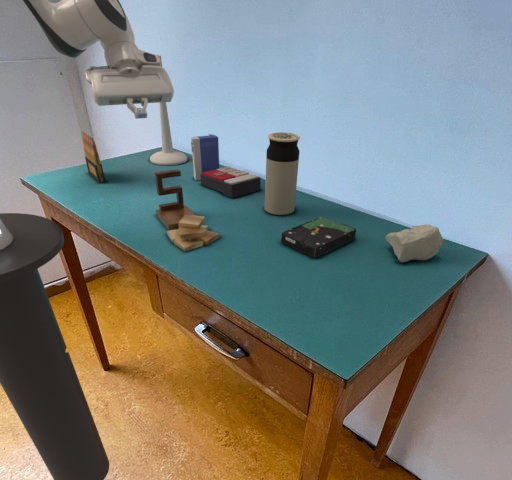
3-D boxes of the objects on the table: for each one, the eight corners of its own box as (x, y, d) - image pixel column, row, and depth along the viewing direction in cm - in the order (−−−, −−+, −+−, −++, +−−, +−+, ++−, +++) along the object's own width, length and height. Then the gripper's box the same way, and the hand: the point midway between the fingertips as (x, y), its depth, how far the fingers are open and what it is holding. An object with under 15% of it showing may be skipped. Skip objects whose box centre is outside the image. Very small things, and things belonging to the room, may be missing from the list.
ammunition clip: (88, 173, 125) (78, 131, 117) (94, 172, 125) (84, 130, 118) (99, 183, 118) (89, 139, 110) (105, 182, 119) (96, 138, 111)
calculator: (228, 165, 123) (261, 174, 114) (228, 179, 125) (261, 189, 116) (199, 171, 117) (231, 182, 108) (200, 186, 119) (232, 198, 111)
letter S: (168, 230, 94) (163, 185, 87) (156, 215, 101) (150, 172, 94) (200, 225, 97) (197, 181, 90) (186, 210, 104) (182, 168, 97)
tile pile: (185, 252, 86) (183, 235, 83) (161, 235, 92) (159, 218, 89) (224, 239, 91) (223, 223, 88) (199, 224, 97) (198, 208, 95)
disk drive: (315, 260, 85) (355, 239, 93) (316, 248, 83) (357, 228, 91) (280, 243, 90) (320, 225, 98) (280, 232, 89) (322, 214, 97)
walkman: (216, 175, 126) (214, 133, 119) (219, 177, 125) (218, 135, 117) (193, 177, 124) (189, 135, 116) (195, 180, 122) (192, 137, 114)
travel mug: (268, 216, 102) (271, 140, 90) (261, 205, 108) (263, 132, 96) (297, 215, 103) (305, 139, 92) (289, 203, 109) (295, 131, 98)
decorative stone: (409, 232, 93) (442, 208, 84) (422, 268, 91) (457, 247, 82) (372, 235, 89) (402, 210, 80) (386, 273, 87) (418, 251, 78)
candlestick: (193, 157, 141) (186, 53, 122) (175, 167, 132) (164, 56, 112) (162, 152, 144) (150, 51, 125) (142, 162, 135) (126, 53, 116)
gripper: (82, 56, 95) (99, 111, 94) (165, 56, 102) (181, 106, 102) (84, 76, 101) (99, 127, 100) (162, 74, 108) (177, 122, 108)
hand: (141, 116), depth 101 cm, fingers closed
